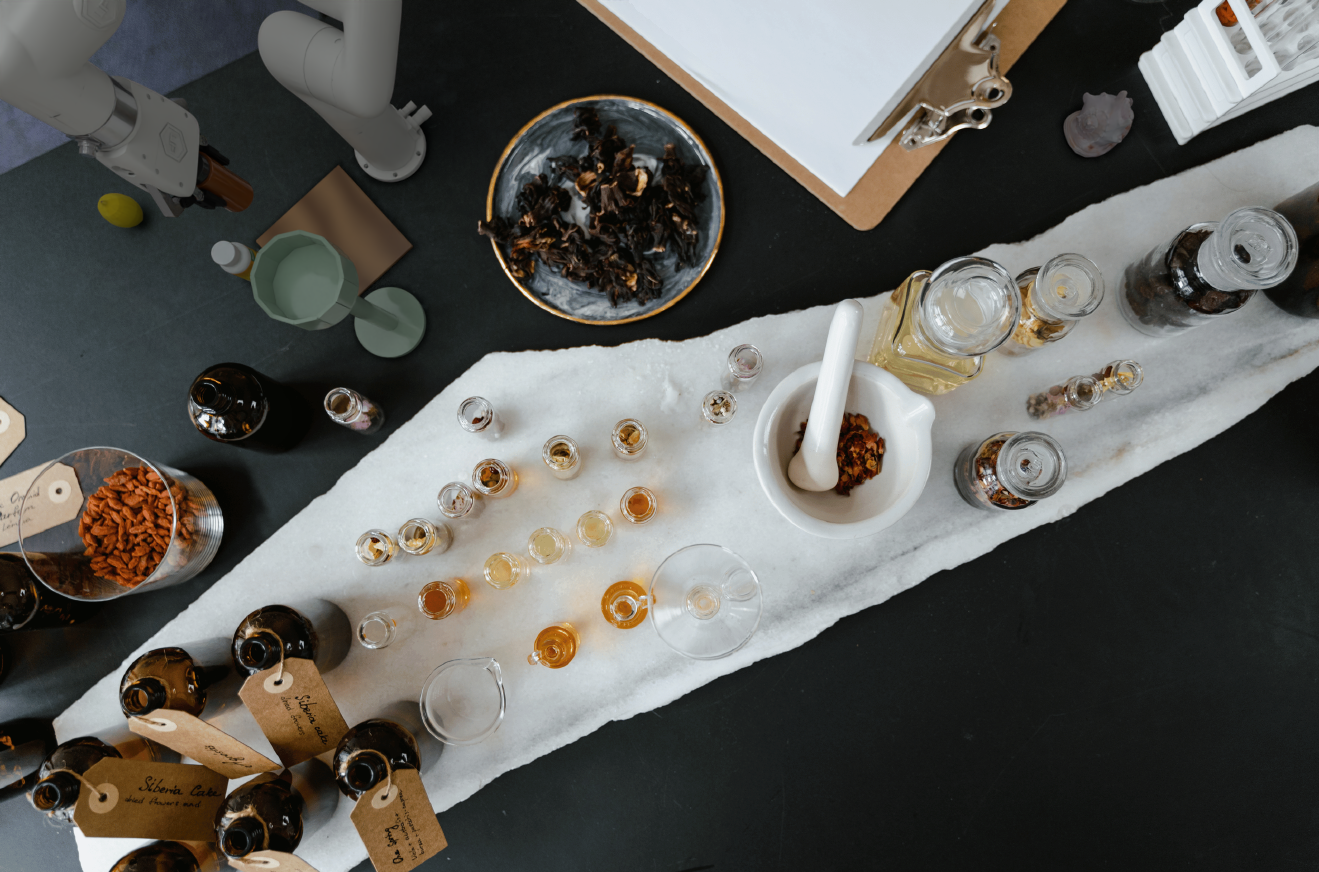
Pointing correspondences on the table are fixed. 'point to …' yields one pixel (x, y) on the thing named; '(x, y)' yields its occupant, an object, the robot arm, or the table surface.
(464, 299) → the table surface
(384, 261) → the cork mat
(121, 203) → the fruit
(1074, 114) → the seashell
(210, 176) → the amber bottle
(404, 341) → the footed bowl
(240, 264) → the supplement bottle
